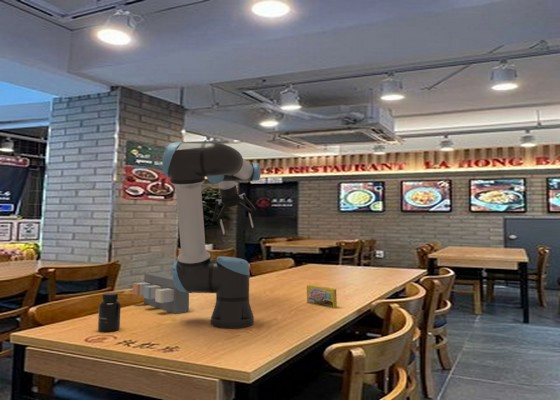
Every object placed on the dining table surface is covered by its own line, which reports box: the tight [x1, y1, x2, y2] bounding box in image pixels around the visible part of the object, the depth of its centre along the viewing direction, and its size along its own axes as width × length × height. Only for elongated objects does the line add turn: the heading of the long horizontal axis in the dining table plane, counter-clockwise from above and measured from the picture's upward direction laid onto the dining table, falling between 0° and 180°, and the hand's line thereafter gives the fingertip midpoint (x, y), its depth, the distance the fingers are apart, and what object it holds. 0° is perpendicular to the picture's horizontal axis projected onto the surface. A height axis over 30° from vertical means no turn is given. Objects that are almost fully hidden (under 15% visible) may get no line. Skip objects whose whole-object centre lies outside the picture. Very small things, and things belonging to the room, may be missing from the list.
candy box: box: [306, 284, 338, 309], centre depth 196 cm, size 16×2×8 cm, turn 42°
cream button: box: [155, 288, 174, 303], centre depth 178 cm, size 8×5×5 cm, turn 130°
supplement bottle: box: [97, 292, 122, 333], centre depth 151 cm, size 7×7×12 cm
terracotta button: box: [132, 281, 150, 296], centre depth 195 cm, size 8×5×5 cm, turn 130°
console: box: [143, 272, 190, 315], centre depth 190 cm, size 6×29×13 cm, turn 40°
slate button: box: [143, 285, 162, 299], centre depth 187 cm, size 8×5×5 cm, turn 130°
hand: (238, 230), depth 210 cm, fingers open, 13 cm apart
